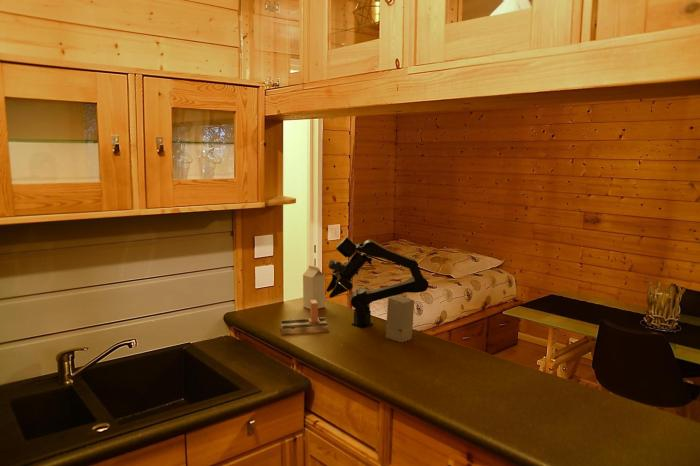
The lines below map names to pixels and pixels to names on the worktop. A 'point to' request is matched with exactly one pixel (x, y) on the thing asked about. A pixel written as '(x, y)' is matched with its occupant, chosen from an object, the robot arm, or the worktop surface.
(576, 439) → the worktop surface
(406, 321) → the skincare box
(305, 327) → the slider board
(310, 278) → the milk carton
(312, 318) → the fader tab
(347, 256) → the robot arm
